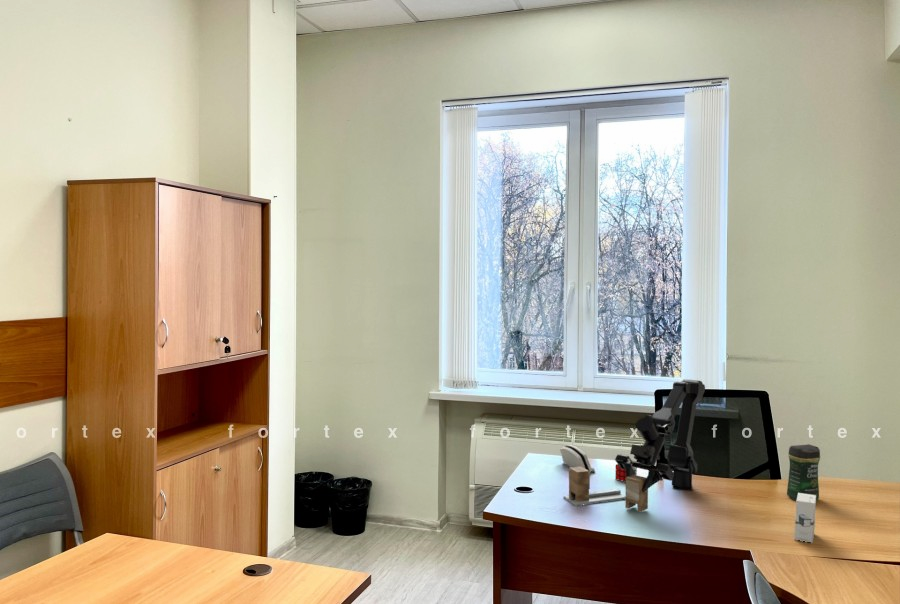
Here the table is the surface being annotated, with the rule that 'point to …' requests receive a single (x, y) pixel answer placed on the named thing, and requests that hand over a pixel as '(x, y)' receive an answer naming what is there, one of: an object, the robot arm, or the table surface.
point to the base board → (597, 499)
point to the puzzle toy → (622, 473)
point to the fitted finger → (579, 483)
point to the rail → (599, 494)
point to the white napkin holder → (575, 457)
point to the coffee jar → (803, 470)
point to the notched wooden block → (636, 493)
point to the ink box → (805, 517)
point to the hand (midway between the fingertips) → (634, 489)
